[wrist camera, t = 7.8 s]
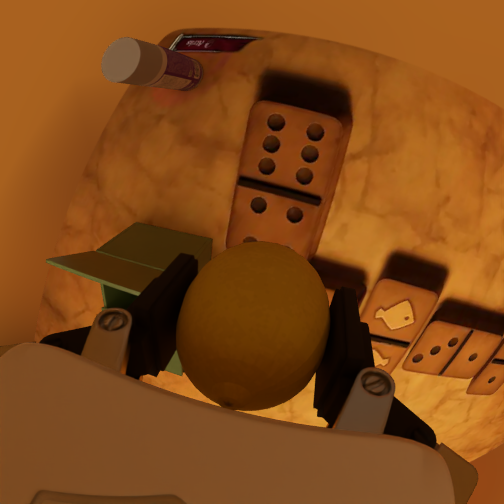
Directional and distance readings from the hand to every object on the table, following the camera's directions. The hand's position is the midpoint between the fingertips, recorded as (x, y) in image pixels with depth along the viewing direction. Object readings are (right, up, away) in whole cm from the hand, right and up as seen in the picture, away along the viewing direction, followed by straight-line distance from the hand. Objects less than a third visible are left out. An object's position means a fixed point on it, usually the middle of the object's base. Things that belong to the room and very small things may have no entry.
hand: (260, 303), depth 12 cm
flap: (-15, 0, +17) cm, 23 cm away
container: (-9, +25, +21) cm, 34 cm away
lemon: (+1, +1, +3) cm, 3 cm away
